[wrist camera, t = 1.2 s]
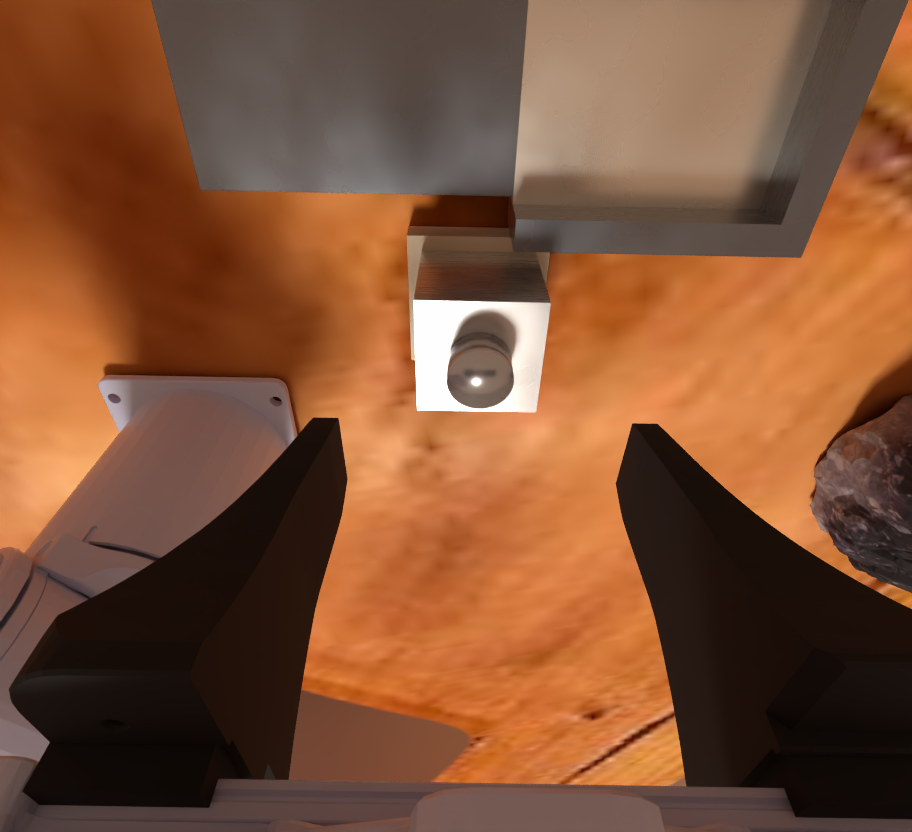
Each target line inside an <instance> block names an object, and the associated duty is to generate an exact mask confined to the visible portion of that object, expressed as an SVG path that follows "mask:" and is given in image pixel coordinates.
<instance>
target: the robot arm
mask: <svg viewBox="0 0 912 832" xmlns="http://www.w3.org/2000/svg"><path fill="white" fill-rule="evenodd" d="M98 387H99V390H100V392H101V394H102V396H103V398H104V400H105V402H106V405H107V407H108V409H109V411H110V413H111V415H112V417H113V420H114V422H115V424H116V426H117V428H118V430H119V432H120V433H119V434H118V436H117V437H116V438H115V439H114V441H113V442H112V443H111V445H110V446H109V447H108V448H107V450H106V451H105V452H104V453H103V455H102V456H101V457H100V458H99V460H98V461H97V462H96V463H95V465H94V466H93V467H92V469H91V470H90V471H89V472H88V474H87V475H86V476H85V477H84V479H83V480H82V481H81V482H80V484H79V485H78V486H77V487H76V489H75V490H74V491H73V493H72V494H71V495H70V496H69V498H68V499H67V500H66V501H65V503H64V504H63V505H62V506H61V508H60V509H59V510H58V511H57V513H56V514H55V515H54V516H53V518H52V519H51V520H50V522H49V523H48V524H47V525H46V527H45V528H44V529H43V530H42V532H41V533H40V534H39V535H38V537H37V538H36V539H35V540H34V542H33V543H32V544H31V546H30V547H29V548H28V549H27V551H26V552H25V553H23V552H21V551H20V550H19V549H16V548H12V547H7V548H3V549H0V832H912V609H910V608H908V607H906V606H904V605H902V604H900V603H898V602H896V601H894V600H892V599H890V598H888V597H886V596H884V595H882V594H880V593H879V592H877V591H875V590H873V589H871V588H869V587H867V586H866V585H864V584H862V583H860V582H858V581H856V580H855V579H853V578H851V577H849V576H848V575H846V574H844V573H843V572H841V571H839V570H837V569H836V568H834V567H832V566H831V565H829V564H828V563H826V562H824V561H823V560H821V559H820V558H818V557H816V556H815V555H813V554H812V553H810V552H808V551H807V550H805V549H804V548H802V547H801V546H799V545H798V544H796V543H795V542H793V541H792V540H790V539H789V538H788V537H786V536H785V535H783V534H782V533H781V532H779V531H778V530H777V529H775V528H774V527H772V526H771V525H770V524H768V523H767V522H766V521H764V520H763V519H762V518H760V517H759V516H758V515H756V514H755V513H754V512H753V511H751V510H750V509H749V508H748V507H747V506H745V505H744V504H743V503H742V502H741V501H739V500H738V499H737V498H736V497H735V496H733V495H732V494H731V493H730V492H729V491H728V490H726V489H725V488H724V487H723V486H722V485H721V484H720V483H719V482H717V481H716V480H715V479H714V478H713V477H712V476H711V475H710V474H709V473H708V472H707V471H706V470H704V469H703V468H702V467H701V466H700V465H699V464H698V463H697V462H696V461H695V460H694V459H693V458H692V457H691V456H690V455H689V454H688V453H687V452H686V451H685V450H684V449H683V448H682V447H681V446H680V445H679V444H678V443H677V442H676V441H675V440H674V439H673V438H672V437H671V436H670V435H669V434H668V433H666V432H665V431H664V430H663V429H662V428H661V427H660V426H659V425H658V424H632V427H631V431H630V434H629V438H628V441H627V445H626V449H625V452H624V456H623V460H622V463H621V467H620V471H619V474H618V478H617V482H616V487H617V492H618V498H619V504H620V509H621V513H622V518H623V522H624V525H625V528H626V531H627V534H628V537H629V540H630V543H631V546H632V549H633V552H634V555H635V558H636V561H637V564H638V567H639V570H640V572H641V575H642V578H643V581H644V584H645V587H646V590H647V593H648V596H649V599H650V602H651V605H652V609H653V612H654V616H655V620H656V624H657V629H658V633H659V637H660V642H661V646H662V651H663V655H664V660H665V665H666V670H667V675H668V680H669V685H670V690H671V695H672V700H673V706H674V712H675V717H676V723H677V728H678V734H679V740H680V746H681V753H682V759H683V766H684V773H685V779H686V785H687V787H682V786H680V787H679V786H622V785H562V784H501V783H440V782H379V781H378V782H377V781H319V780H288V778H289V771H290V763H291V755H292V748H293V741H294V733H295V726H296V719H297V713H298V706H299V700H300V693H301V687H302V681H303V675H304V669H305V663H306V657H307V651H308V645H309V639H310V634H311V629H312V623H313V618H314V612H315V608H316V604H317V600H318V596H319V592H320V588H321V585H322V582H323V578H324V575H325V571H326V568H327V564H328V561H329V558H330V554H331V551H332V547H333V544H334V541H335V537H336V534H337V530H338V527H339V523H340V519H341V516H342V510H343V504H344V498H345V491H346V485H347V473H346V466H345V459H344V453H343V446H342V439H341V432H340V425H339V419H338V418H313V419H312V420H311V421H310V422H309V423H308V424H307V425H306V426H305V427H304V429H303V430H302V431H301V432H300V433H299V434H298V436H297V431H296V426H295V421H294V417H293V412H292V407H291V402H290V397H289V393H288V388H287V386H286V384H285V383H284V382H283V381H282V380H280V379H277V378H250V377H198V376H146V375H106V376H104V377H103V378H102V379H101V380H100V381H99V383H98ZM114 394H116V395H117V396H119V397H120V398H118V397H116V396H115V395H114ZM273 397H278V398H280V399H281V401H276V400H275V399H273Z"/></svg>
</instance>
